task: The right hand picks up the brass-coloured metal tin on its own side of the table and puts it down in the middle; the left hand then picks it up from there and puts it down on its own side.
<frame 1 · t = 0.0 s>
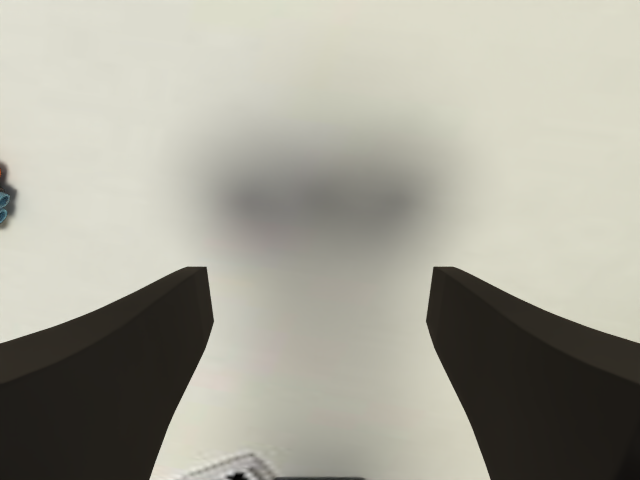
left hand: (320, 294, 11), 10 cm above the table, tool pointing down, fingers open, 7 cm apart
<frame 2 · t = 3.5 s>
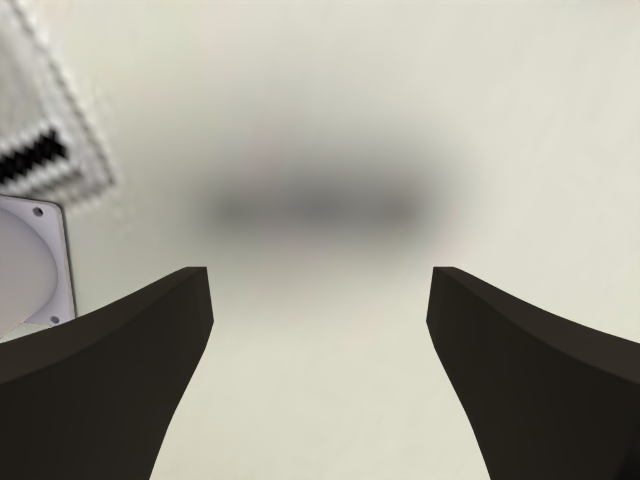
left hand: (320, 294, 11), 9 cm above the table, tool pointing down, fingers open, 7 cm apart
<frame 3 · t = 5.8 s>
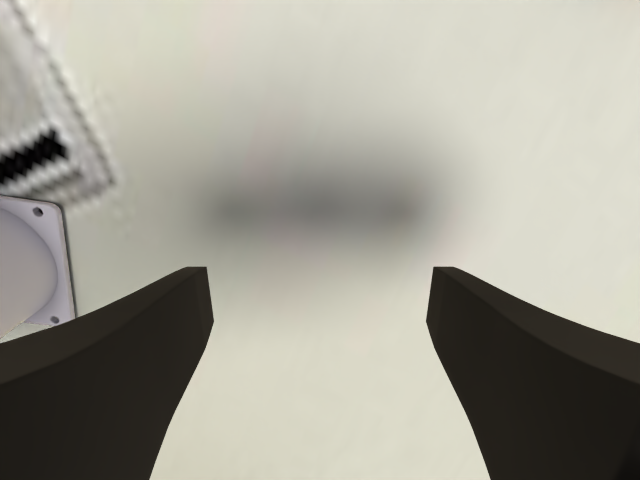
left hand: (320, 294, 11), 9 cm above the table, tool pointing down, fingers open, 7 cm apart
when the right hand's fingers open (1 cm above the table, at t = 8.2 s): tin stays where it is, on the table.
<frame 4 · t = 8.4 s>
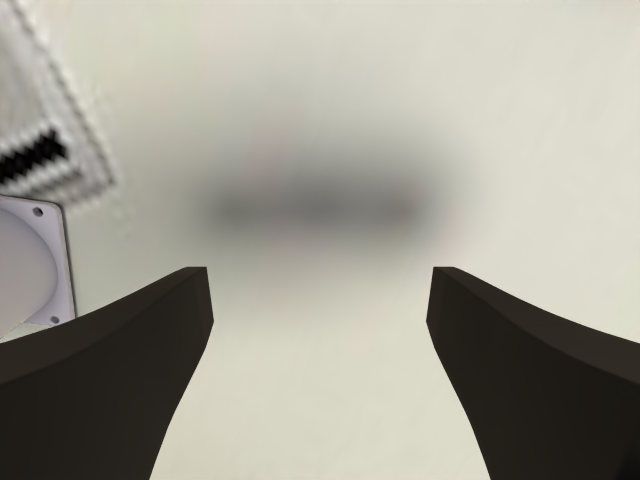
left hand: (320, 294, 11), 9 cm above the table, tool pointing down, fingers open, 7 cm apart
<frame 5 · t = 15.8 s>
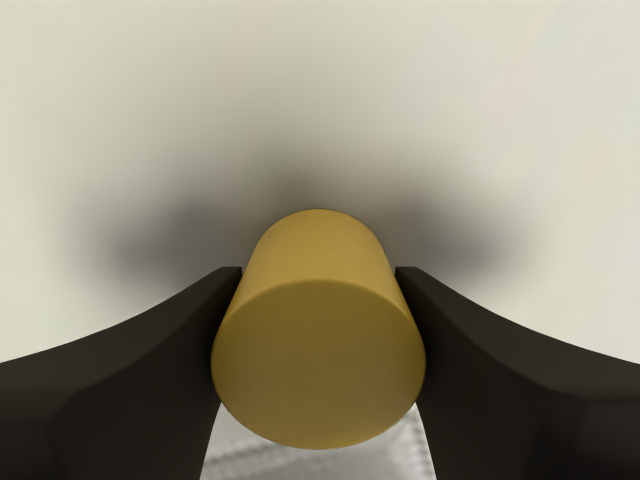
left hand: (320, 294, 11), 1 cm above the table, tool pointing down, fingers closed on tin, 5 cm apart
tin: (318, 273, 12), on the table, touching left hand
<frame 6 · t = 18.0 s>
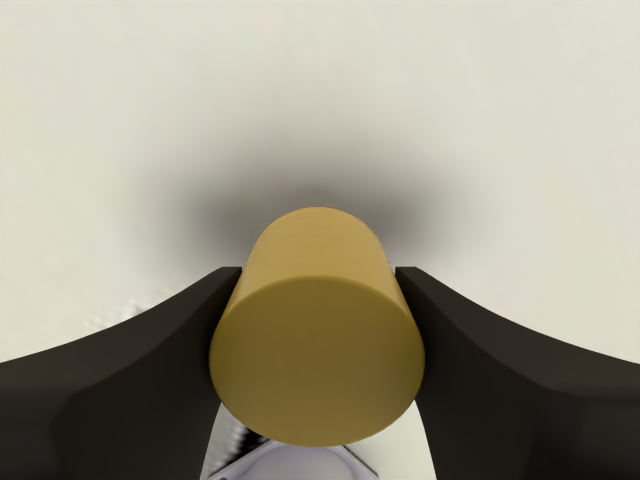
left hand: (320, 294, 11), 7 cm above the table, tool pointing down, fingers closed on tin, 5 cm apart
tin: (318, 271, 12), point 5 cm above the table, touching left hand
when the left hand's fingers open (2 cm above the table, at t = 20.4 s): tin stays where it is, on the table.
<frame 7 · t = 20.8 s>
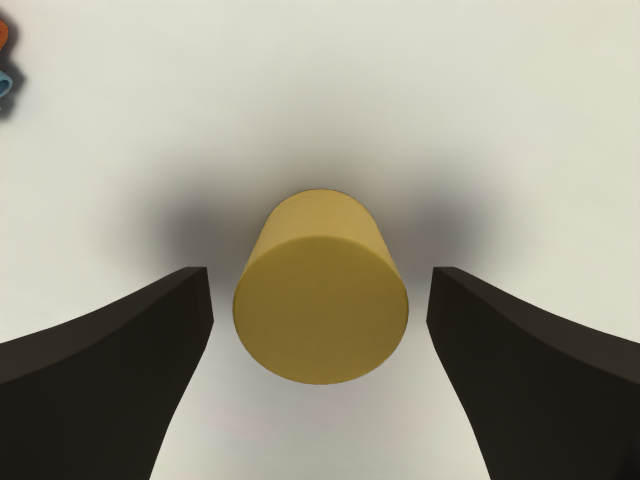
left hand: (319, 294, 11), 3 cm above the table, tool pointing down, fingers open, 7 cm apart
tin: (320, 246, 14), on the table
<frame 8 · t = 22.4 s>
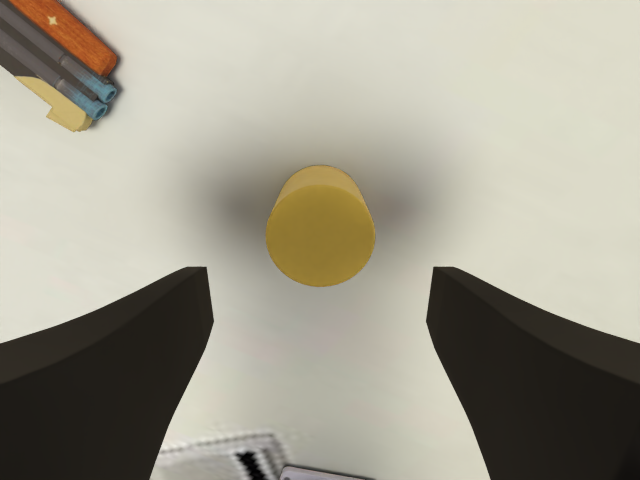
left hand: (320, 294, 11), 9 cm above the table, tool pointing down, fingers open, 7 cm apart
tin: (320, 207, 20), on the table
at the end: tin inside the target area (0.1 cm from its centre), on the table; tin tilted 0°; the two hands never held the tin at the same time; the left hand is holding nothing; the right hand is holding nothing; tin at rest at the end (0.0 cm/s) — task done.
